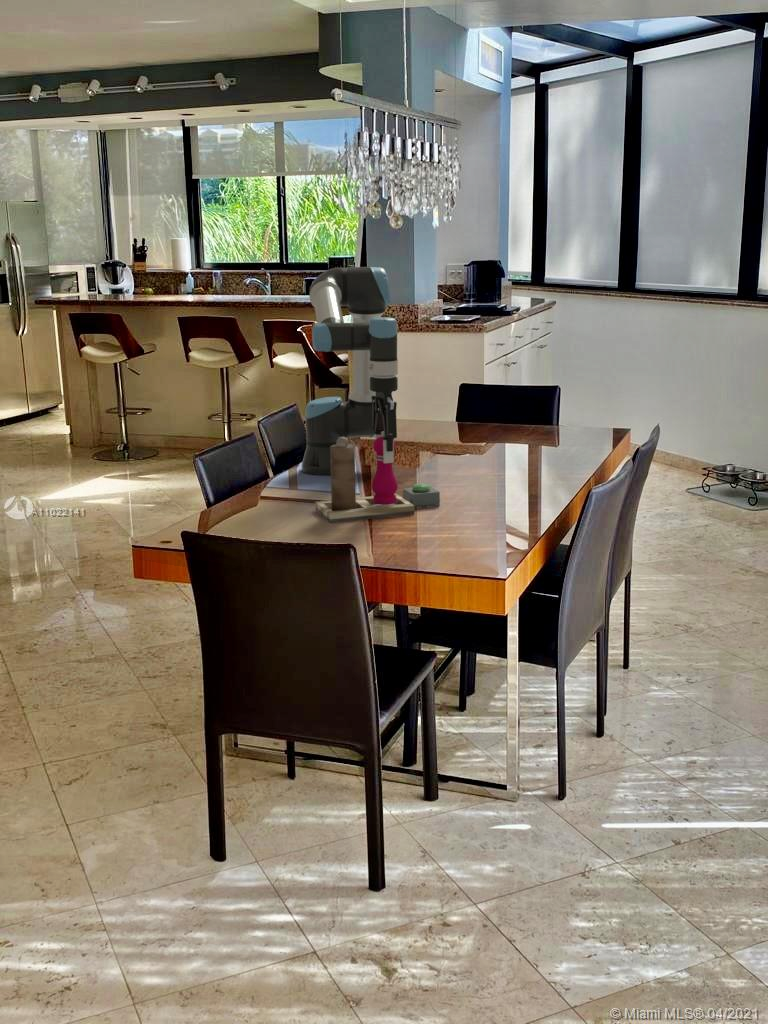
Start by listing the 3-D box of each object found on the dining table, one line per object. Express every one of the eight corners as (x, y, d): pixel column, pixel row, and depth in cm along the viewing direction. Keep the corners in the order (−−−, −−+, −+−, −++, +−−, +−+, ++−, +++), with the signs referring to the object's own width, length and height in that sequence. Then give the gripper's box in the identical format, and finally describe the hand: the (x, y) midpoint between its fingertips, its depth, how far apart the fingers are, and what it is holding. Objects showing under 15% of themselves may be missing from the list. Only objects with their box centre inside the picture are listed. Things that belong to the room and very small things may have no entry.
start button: (410, 498, 303) (410, 484, 302) (425, 496, 305) (425, 483, 304) (416, 502, 299) (416, 488, 298) (432, 500, 300) (432, 486, 299)
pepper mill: (383, 497, 300) (382, 427, 295) (403, 501, 295) (402, 430, 290) (366, 502, 294) (365, 431, 289) (386, 506, 290) (386, 434, 285)
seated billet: (328, 509, 293) (326, 435, 288) (351, 506, 295) (350, 434, 290) (335, 514, 287) (334, 440, 282) (358, 512, 289) (357, 438, 284)
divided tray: (315, 510, 296) (315, 501, 295) (396, 502, 304) (396, 493, 303) (330, 522, 283) (330, 513, 283) (414, 514, 291) (414, 505, 290)
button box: (403, 501, 304) (403, 488, 303) (429, 499, 307) (429, 485, 306) (413, 508, 297) (413, 494, 296) (439, 505, 300) (439, 491, 299)
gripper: (359, 372, 293) (360, 454, 299) (382, 381, 276) (383, 468, 282) (384, 371, 296) (385, 452, 302) (409, 379, 278) (409, 466, 284)
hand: (384, 460), depth 292 cm, fingers closed on pepper mill, 6 cm apart
